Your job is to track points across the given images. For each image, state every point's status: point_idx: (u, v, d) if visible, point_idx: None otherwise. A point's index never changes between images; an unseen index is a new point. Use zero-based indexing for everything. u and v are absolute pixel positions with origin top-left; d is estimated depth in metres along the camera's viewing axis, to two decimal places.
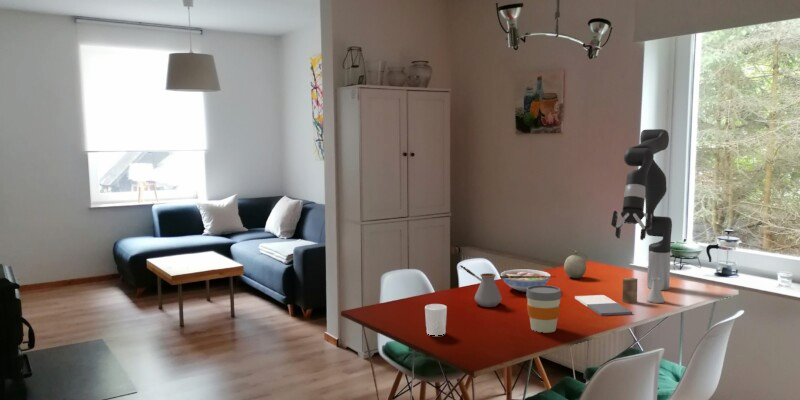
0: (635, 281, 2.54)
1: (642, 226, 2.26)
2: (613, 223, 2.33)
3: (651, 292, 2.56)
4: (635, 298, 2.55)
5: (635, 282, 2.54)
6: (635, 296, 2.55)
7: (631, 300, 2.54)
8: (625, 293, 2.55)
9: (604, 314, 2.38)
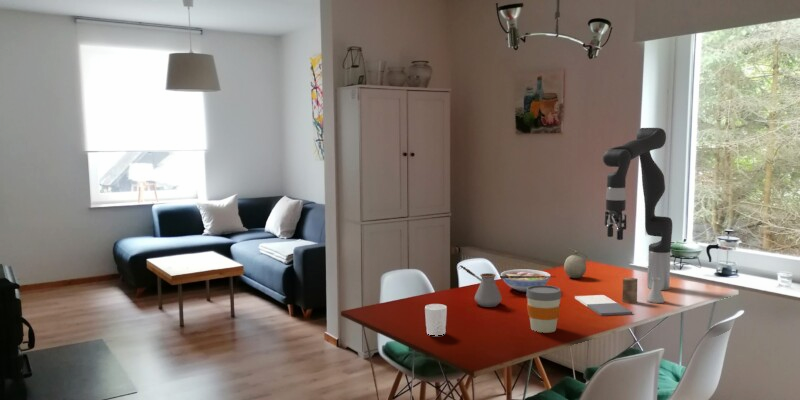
0: (635, 281, 2.54)
1: (617, 227, 2.42)
2: (605, 223, 2.52)
3: (651, 292, 2.56)
4: (635, 298, 2.55)
5: (635, 282, 2.54)
6: (635, 296, 2.55)
7: (631, 300, 2.54)
8: (625, 293, 2.55)
9: (604, 314, 2.38)
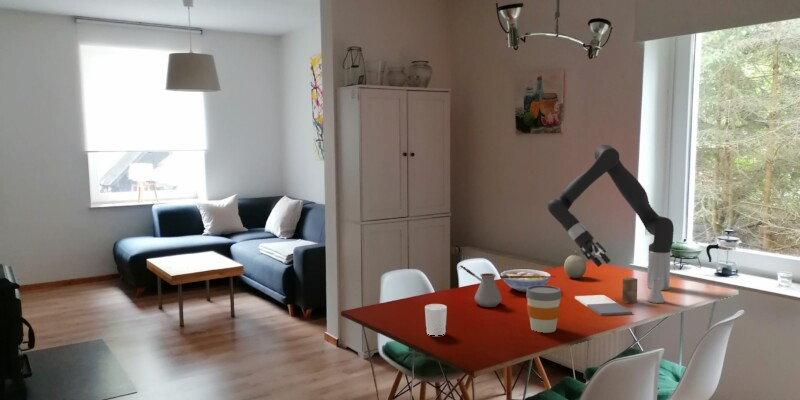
0: (635, 281, 2.54)
1: None
2: None
3: (651, 292, 2.56)
4: (635, 298, 2.55)
5: (635, 282, 2.54)
6: (635, 296, 2.55)
7: (631, 300, 2.54)
8: (625, 293, 2.55)
9: (604, 314, 2.38)
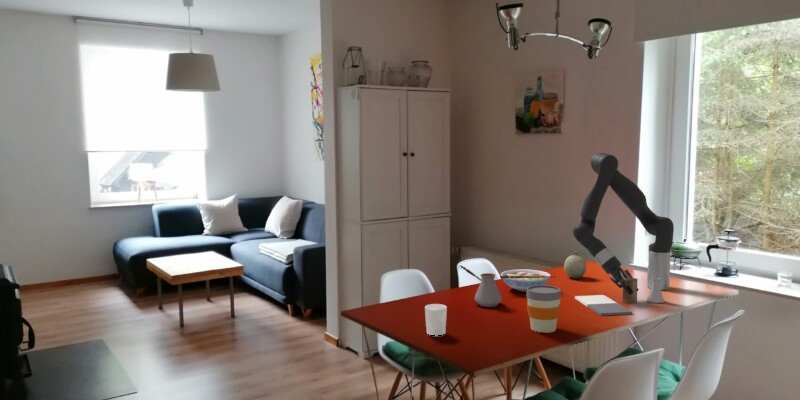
0: (635, 281, 2.54)
1: None
2: None
3: (651, 292, 2.56)
4: (635, 298, 2.55)
5: (635, 282, 2.54)
6: (635, 296, 2.55)
7: (631, 300, 2.54)
8: (625, 293, 2.55)
9: (604, 314, 2.38)
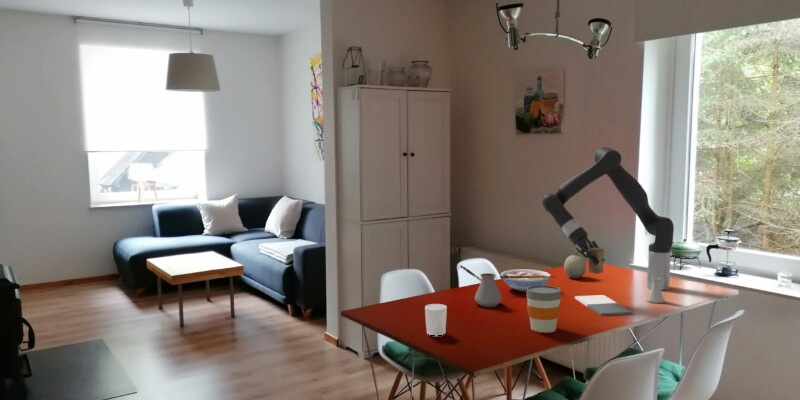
0: (601, 251, 2.54)
1: None
2: None
3: (651, 292, 2.56)
4: (601, 268, 2.55)
5: (601, 252, 2.54)
6: (601, 266, 2.55)
7: (597, 270, 2.53)
8: (591, 263, 2.55)
9: (604, 314, 2.38)
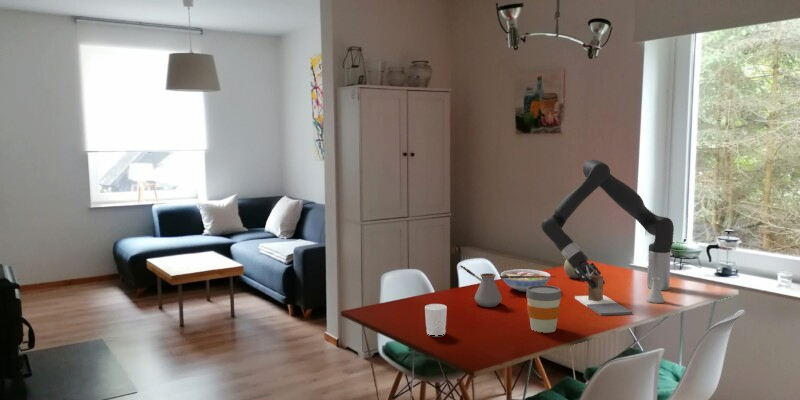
0: (601, 279, 2.55)
1: None
2: None
3: (651, 292, 2.56)
4: (601, 296, 2.56)
5: (601, 280, 2.55)
6: (601, 293, 2.56)
7: (596, 298, 2.55)
8: (590, 291, 2.57)
9: (604, 314, 2.38)
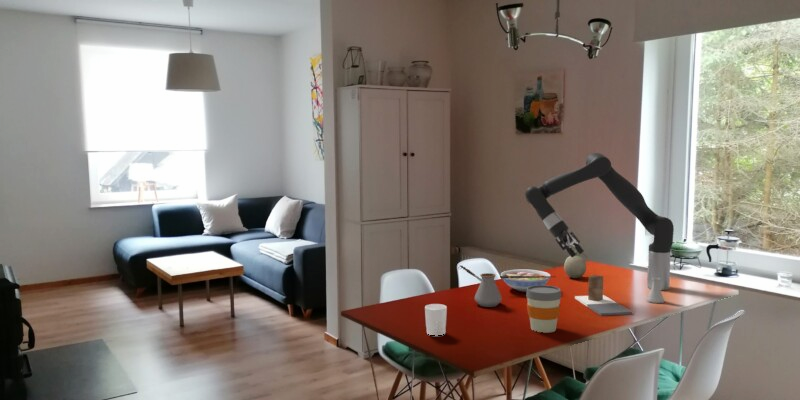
0: (601, 279, 2.55)
1: None
2: None
3: (651, 292, 2.56)
4: (601, 296, 2.56)
5: (601, 280, 2.55)
6: (601, 293, 2.56)
7: (596, 298, 2.55)
8: (590, 291, 2.57)
9: (604, 314, 2.38)
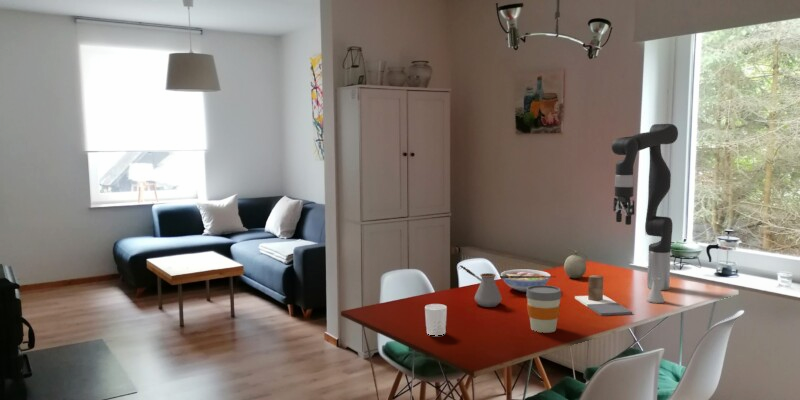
0: (601, 279, 2.55)
1: (625, 213, 2.53)
2: (614, 209, 2.64)
3: (651, 292, 2.56)
4: (601, 296, 2.56)
5: (601, 280, 2.55)
6: (601, 293, 2.56)
7: (596, 298, 2.55)
8: (590, 291, 2.57)
9: (604, 314, 2.38)
